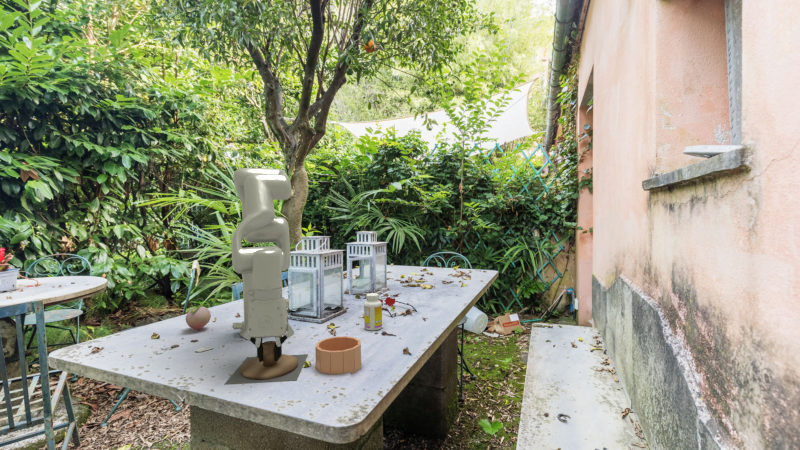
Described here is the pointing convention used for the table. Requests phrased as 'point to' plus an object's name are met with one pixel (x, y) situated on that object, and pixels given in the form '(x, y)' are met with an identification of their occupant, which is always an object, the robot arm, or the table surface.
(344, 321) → the table surface
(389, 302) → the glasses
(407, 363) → the table surface
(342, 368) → the bowl
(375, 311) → the supplement bottle
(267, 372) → the lid
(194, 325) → the decorative fruit
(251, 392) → the table surface
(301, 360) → the mat
